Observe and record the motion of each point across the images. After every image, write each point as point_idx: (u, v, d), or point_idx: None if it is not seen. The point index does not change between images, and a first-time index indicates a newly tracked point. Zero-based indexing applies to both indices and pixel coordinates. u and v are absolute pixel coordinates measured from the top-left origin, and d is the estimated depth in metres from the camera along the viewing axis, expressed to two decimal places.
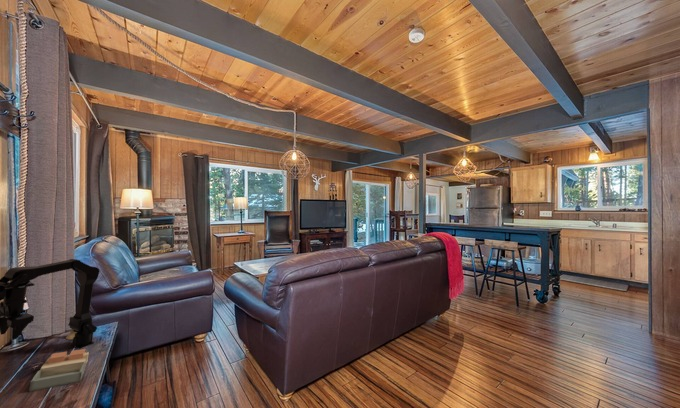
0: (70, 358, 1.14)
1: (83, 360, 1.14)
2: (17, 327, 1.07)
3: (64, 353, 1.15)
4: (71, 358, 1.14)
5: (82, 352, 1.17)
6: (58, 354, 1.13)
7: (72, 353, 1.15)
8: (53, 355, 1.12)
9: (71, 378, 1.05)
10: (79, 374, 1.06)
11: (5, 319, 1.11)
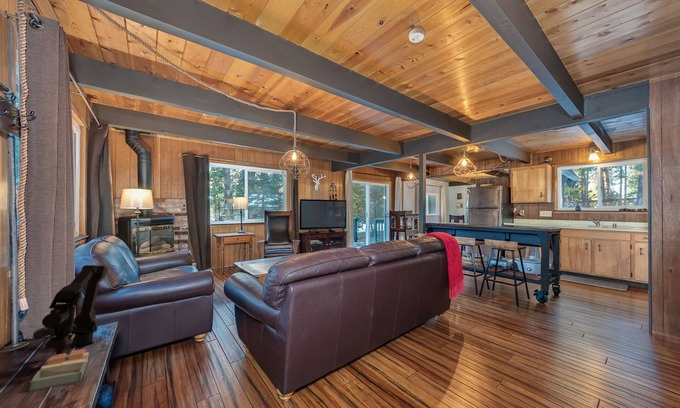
0: (70, 358, 1.14)
1: (83, 360, 1.14)
2: None
3: (63, 355, 1.13)
4: (71, 358, 1.14)
5: (82, 352, 1.17)
6: (57, 356, 1.12)
7: (72, 353, 1.15)
8: (52, 357, 1.11)
9: (71, 378, 1.05)
10: (79, 374, 1.06)
11: None
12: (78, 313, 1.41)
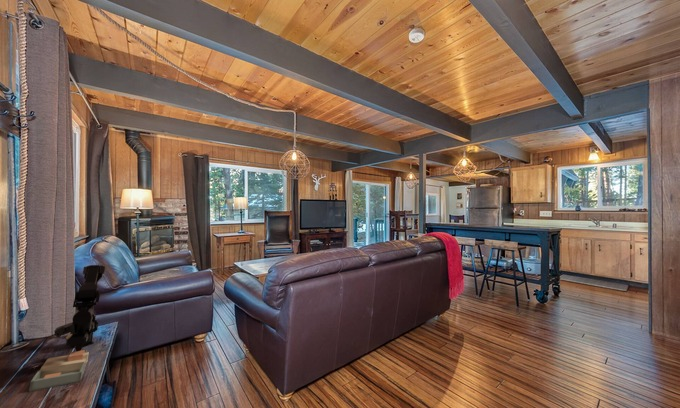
0: (69, 359, 1.13)
1: (83, 360, 1.14)
2: None
3: None
4: (70, 359, 1.13)
5: (81, 353, 1.16)
6: None
7: (71, 354, 1.14)
8: None
9: (71, 378, 1.05)
10: (79, 374, 1.06)
11: None
12: None
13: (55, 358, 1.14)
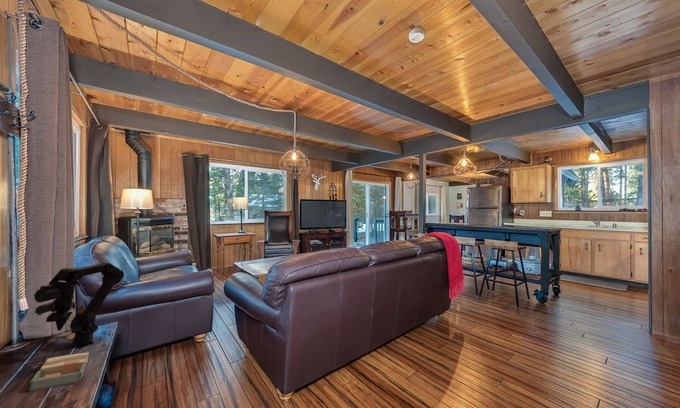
0: None
1: (83, 360, 1.14)
2: None
3: None
4: None
5: (75, 370, 1.10)
6: None
7: (64, 371, 1.08)
8: None
9: (71, 378, 1.05)
10: (79, 374, 1.06)
11: None
12: (78, 313, 1.41)
13: (55, 358, 1.14)
